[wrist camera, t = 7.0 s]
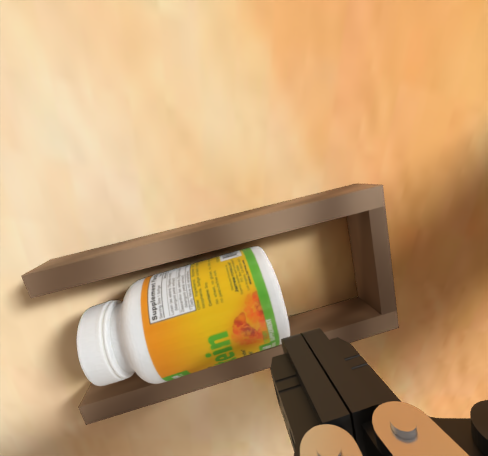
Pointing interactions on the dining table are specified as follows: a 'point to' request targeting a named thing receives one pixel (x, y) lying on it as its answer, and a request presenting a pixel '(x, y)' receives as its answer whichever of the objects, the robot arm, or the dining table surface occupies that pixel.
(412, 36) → the dining table surface
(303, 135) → the dining table surface
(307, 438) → the robot arm
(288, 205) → the walnut U-rest
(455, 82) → the dining table surface
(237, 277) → the supplement bottle
